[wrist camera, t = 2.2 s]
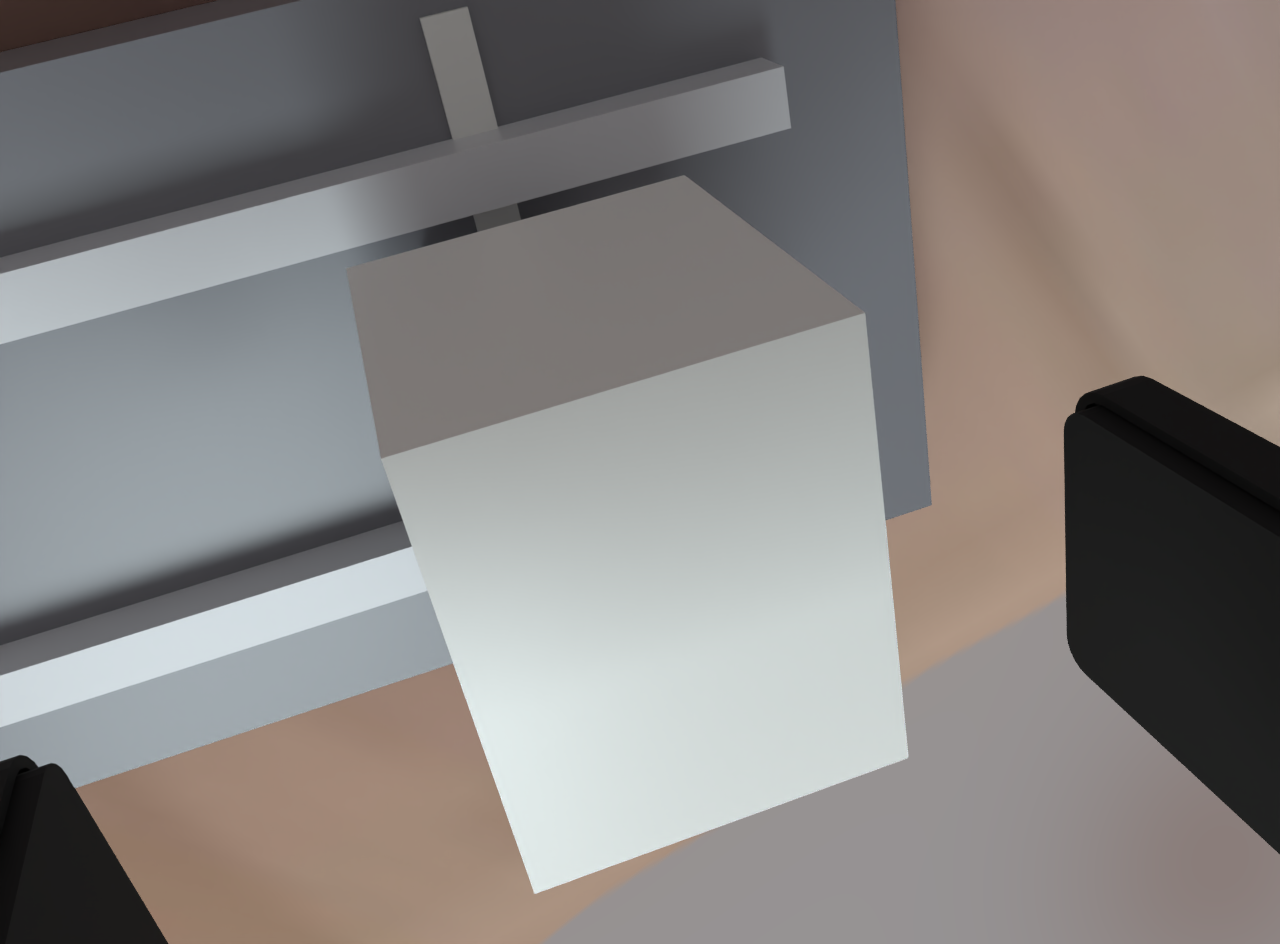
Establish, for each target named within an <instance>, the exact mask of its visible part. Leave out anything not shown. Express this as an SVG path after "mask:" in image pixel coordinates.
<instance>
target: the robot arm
mask: <svg viewBox="0 0 1280 944" xmlns="http://www.w3.org/2000/svg"><path fill="white" fill-rule="evenodd" d="M1064 473H1065V541H1066V602H1067V603H1066V608H1067V639H1068V644H1069V648H1070V651H1071V653H1072V655H1073V657H1074V659H1075V661H1076V663H1077V664H1078V666H1079V667H1080V669H1081V670H1082V671H1083V672H1084V673H1085V674H1086V675H1087V676H1088V677H1089V678H1090V679H1091V680H1092V681H1093V682H1095V683H1096V684H1097V685H1098V686H1099V687H1100V688H1101V689H1102V690H1103V691H1104V692H1105V693H1106V694H1107V695H1109V696H1110V697H1111V698H1112V699H1113V700H1114V701H1115V702H1116V703H1117V704H1118V705H1119V706H1120V707H1122V708H1123V709H1124V710H1125V711H1126V712H1127V713H1128V714H1129V715H1130V716H1131V717H1132V718H1133V719H1134V720H1136V721H1137V722H1138V723H1139V724H1140V725H1141V726H1142V727H1143V728H1144V729H1145V730H1146V731H1147V732H1149V733H1150V734H1151V735H1152V736H1153V737H1154V738H1155V739H1156V740H1157V741H1158V742H1159V743H1160V744H1161V745H1162V746H1164V747H1165V748H1166V749H1167V750H1168V751H1169V752H1170V753H1171V754H1172V755H1173V756H1174V757H1176V759H1178V760H1179V761H1180V762H1181V763H1182V764H1183V765H1184V766H1185V767H1186V768H1187V769H1188V770H1189V771H1191V772H1192V773H1193V774H1194V775H1195V776H1196V777H1197V778H1198V779H1199V780H1200V781H1201V782H1202V783H1204V784H1205V785H1206V786H1207V787H1208V788H1209V789H1210V790H1211V791H1212V792H1213V793H1214V794H1215V795H1216V796H1218V797H1219V798H1220V799H1221V800H1222V801H1223V802H1224V803H1225V804H1226V805H1227V806H1228V807H1229V808H1231V809H1232V810H1233V811H1234V812H1235V813H1236V814H1237V815H1238V816H1239V817H1240V818H1241V819H1242V820H1243V821H1244V822H1246V823H1247V824H1248V825H1249V826H1250V827H1251V828H1252V829H1253V830H1254V831H1255V832H1256V833H1258V834H1259V835H1260V836H1261V837H1262V838H1263V839H1264V840H1265V841H1266V842H1267V843H1268V844H1269V845H1270V846H1271V847H1273V848H1274V849H1275V850H1276V851H1277V852H1278V853H1279V854H1280V447H1279V446H1277V445H1275V444H1273V443H1271V442H1269V441H1268V440H1266V439H1264V438H1262V437H1260V436H1258V435H1256V434H1254V433H1253V432H1251V431H1249V430H1247V429H1245V428H1243V427H1241V426H1239V425H1238V424H1236V423H1234V422H1232V421H1230V420H1228V419H1226V418H1224V417H1223V416H1221V415H1219V414H1217V413H1215V412H1213V411H1211V410H1209V409H1208V408H1206V407H1204V406H1202V405H1200V404H1198V403H1196V402H1194V401H1193V400H1191V399H1189V398H1187V397H1185V396H1183V395H1181V394H1179V393H1178V392H1176V391H1174V390H1172V389H1170V388H1168V387H1166V386H1164V385H1163V384H1161V383H1159V382H1157V381H1155V380H1153V379H1151V378H1148V377H1145V376H1137V377H1132V378H1130V379H1127V380H1124V381H1121V382H1118V383H1115V384H1112V385H1109V386H1106V387H1103V388H1100V389H1097V390H1094V391H1091V392H1088V393H1086V394H1084V395H1083V396H1082V397H1081V398H1080V399H1079V401H1078V403H1077V405H1076V410H1075V413H1073V414H1071V415H1070V416H1069V417H1068V418H1067V420H1066V422H1065V426H1064ZM0 944H168V942H167V941H166V939H165V937H164V936H163V934H162V932H161V931H160V929H159V927H158V926H157V924H156V922H155V921H154V919H153V917H152V916H151V914H150V912H149V911H148V909H147V907H146V906H145V904H144V902H143V901H142V899H141V897H140V896H139V894H138V892H137V891H136V889H135V888H134V886H133V884H132V883H131V881H130V879H129V878H128V876H127V874H126V873H125V871H124V869H123V868H122V866H121V864H120V863H119V861H118V859H117V858H116V856H115V854H114V853H113V851H112V849H111V848H110V846H109V844H108V843H107V841H106V839H105V838H104V836H103V834H102V833H101V831H100V829H99V828H98V826H97V824H96V823H95V821H94V819H93V818H92V816H91V814H90V813H89V811H88V809H87V808H86V806H85V804H84V803H83V801H82V799H81V798H80V796H79V794H78V793H77V791H76V789H75V788H74V786H73V784H72V783H71V781H70V779H69V778H68V776H67V775H66V773H65V772H64V770H63V769H62V768H61V767H60V766H58V765H57V764H55V763H49V764H47V765H44V766H41V767H38V766H37V765H36V763H35V762H34V761H33V760H31V759H30V758H29V757H27V756H24V755H18V756H15V757H12V758H9V759H6V760H3V761H0Z"/></svg>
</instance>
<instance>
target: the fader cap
mask: <svg viewBox="0 0 1280 944" xmlns="http://www.w3.org/2000/svg"><path fill="white" fill-rule="evenodd" d="M346 271H347V276H348V282H349V287H350V293H351V298H352V304H353V309H354V314H355V320H356V325H357V331H358V336H359V342H360V347H361V353H362V358H363V364H364V369H365V375H366V380H367V385H368V391H369V396H370V402H371V407H372V413H373V418H374V424H375V429H376V435H377V440H378V445H379V451H380V456H381V460H382V463H383V466H384V469H385V472H386V474H387V477H388V480H389V483H390V486H391V489H392V491H393V494H394V497H395V500H396V503H397V506H398V508H399V511H400V514H401V517H402V520H403V523H404V525H405V528H406V531H407V534H408V537H409V540H410V542H411V545H412V548H413V551H414V554H415V557H416V559H417V562H418V565H419V568H420V571H421V574H422V576H423V579H424V582H425V585H426V588H427V590H428V593H429V596H430V599H431V602H432V605H433V607H434V610H435V613H436V616H437V619H438V622H439V624H440V627H441V630H442V633H443V636H444V639H445V641H446V644H447V647H448V650H449V653H450V656H451V658H452V661H453V664H454V667H455V670H456V673H457V675H458V678H459V681H460V684H461V687H462V690H463V692H464V695H465V698H466V701H467V704H468V706H469V709H470V712H471V715H472V718H473V721H474V723H475V726H476V729H477V732H478V735H479V738H480V740H481V743H482V746H483V749H484V752H485V755H486V757H487V760H488V763H489V766H490V769H491V772H492V774H493V777H494V780H495V783H496V786H497V789H498V791H499V794H500V797H501V800H502V803H503V805H504V808H505V811H506V814H507V817H508V820H509V822H510V825H511V828H512V831H513V834H514V837H515V839H516V842H517V845H518V848H519V851H520V854H521V856H522V859H523V862H524V865H525V868H526V871H527V873H528V876H529V879H530V882H531V885H532V888H533V890H534V893H535V894H536V893H539V892H541V891H544V890H547V889H550V888H552V887H555V886H558V885H561V884H563V883H566V882H569V881H572V880H574V879H577V878H580V877H583V876H585V875H588V874H591V873H594V872H596V871H599V870H602V869H605V868H607V867H610V866H613V865H615V864H618V863H621V862H624V861H626V860H629V859H632V858H635V857H637V856H640V855H643V854H646V853H648V852H651V851H654V850H657V849H659V848H662V847H665V846H668V845H670V844H673V843H676V842H679V841H681V840H684V839H687V838H690V837H692V836H695V835H698V834H701V833H703V832H706V831H709V830H712V829H714V828H717V827H720V826H723V825H725V824H728V823H731V822H734V821H736V820H739V819H742V818H745V817H747V816H750V815H753V814H756V813H758V812H761V811H764V810H766V809H769V808H772V807H775V806H777V805H780V804H783V803H786V802H788V801H791V800H794V799H797V798H800V797H802V796H805V795H808V794H811V793H813V792H816V791H818V790H822V789H824V788H827V787H830V786H832V785H835V784H838V783H841V782H843V781H846V780H849V779H851V778H854V777H857V776H860V775H863V774H865V773H868V772H871V771H874V770H876V769H879V768H882V767H885V766H887V765H890V764H893V763H896V762H898V761H901V760H904V759H906V758H908V749H907V738H906V727H905V717H904V707H903V696H902V686H901V676H900V666H899V655H898V645H897V635H896V624H895V614H894V604H893V594H892V583H891V573H890V563H889V552H888V542H887V532H886V522H885V511H884V501H883V491H882V480H881V470H880V460H879V450H878V439H877V429H876V419H875V408H874V398H873V388H872V378H871V367H870V357H869V347H868V336H867V326H866V316H865V312H864V311H862V310H861V309H860V308H858V307H857V306H856V305H854V304H853V303H852V302H850V301H849V300H848V299H846V298H845V297H844V296H843V295H841V294H840V293H839V292H837V291H836V290H835V289H833V288H832V287H831V286H829V285H828V284H827V283H825V282H824V281H823V280H822V279H820V278H819V277H818V276H816V275H815V274H814V273H812V272H811V271H810V270H808V269H807V268H806V267H805V266H803V265H802V264H801V263H799V262H798V261H797V260H795V259H794V258H793V257H791V256H790V255H789V254H787V253H786V252H785V251H784V250H782V249H781V248H780V247H778V246H777V245H776V244H774V243H773V242H772V241H770V240H769V239H768V238H766V237H765V236H764V235H763V234H761V233H760V232H759V231H757V230H756V229H755V228H753V227H752V226H751V225H749V224H748V223H747V222H745V221H744V220H743V219H742V218H740V217H739V216H738V215H736V214H735V213H734V212H732V211H731V210H730V209H728V208H727V207H726V206H724V205H723V204H722V203H721V202H719V201H718V200H717V199H715V198H714V197H713V196H711V195H710V194H709V193H707V192H706V191H705V190H703V189H702V188H701V187H700V186H698V185H697V184H696V183H694V182H693V181H692V180H690V179H689V178H688V177H686V176H685V175H683V176H679V177H675V178H672V179H668V180H664V181H661V182H657V183H654V184H650V185H646V186H643V187H639V188H635V189H632V190H628V191H625V192H621V193H617V194H614V195H610V196H606V197H603V198H599V199H596V200H592V201H588V202H585V203H581V204H577V205H574V206H570V207H567V208H563V209H559V210H556V211H552V212H548V213H545V214H541V215H538V216H534V217H530V218H527V219H523V220H519V221H516V222H512V223H509V224H505V225H501V226H498V227H494V228H490V229H487V230H483V231H480V232H476V233H472V234H469V235H465V236H461V237H458V238H454V239H451V240H447V241H443V242H440V243H436V244H432V245H429V246H425V247H422V248H418V249H414V250H411V251H407V252H403V253H400V254H396V255H393V256H389V257H385V258H382V259H378V260H374V261H371V262H367V263H364V264H360V265H356V266H353V267H349V268H346Z"/></svg>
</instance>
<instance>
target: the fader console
mask: <svg viewBox="0 0 1280 944" xmlns="http://www.w3.org/2000/svg"><path fill="white" fill-rule="evenodd" d="M683 175H685V176H686V177H688V178H689V179H690V180H692V181H693V182H694V183H696V184H697V185H698V186H700V187H701V188H702V189H703V190H705V191H706V192H707V193H709V194H710V195H711V196H713V197H714V198H715V199H717V200H718V201H719V202H721V203H722V204H723V205H724V206H726V207H727V208H728V209H730V210H731V211H732V212H734V213H735V214H736V215H738V216H739V217H740V218H742V219H743V220H744V221H745V222H747V223H748V224H749V225H751V226H752V227H753V228H755V229H756V230H757V231H759V232H760V233H761V234H763V235H764V236H765V237H766V238H768V239H769V240H770V241H772V242H773V243H774V244H776V245H777V246H778V247H780V248H781V249H782V250H784V251H785V252H786V253H787V254H789V255H790V256H791V257H793V258H794V259H795V260H797V261H798V262H799V263H801V264H802V265H803V266H805V267H806V268H807V269H808V270H810V271H811V272H812V273H814V274H815V275H816V276H818V277H819V278H820V279H822V280H823V281H824V282H825V283H827V284H828V285H829V286H831V287H832V288H833V289H835V290H836V291H837V292H839V293H840V294H841V295H843V296H844V297H845V298H846V299H848V300H849V301H850V302H852V303H853V304H854V305H856V306H857V307H858V308H860V309H861V310H862V311H864V312H865V316H866V326H867V336H868V347H869V357H870V367H871V378H872V388H873V398H874V408H875V419H876V429H877V439H878V450H879V460H880V470H881V480H882V491H883V501H884V511H885V520H888V519H891V518H894V517H897V516H900V515H903V514H906V513H909V512H912V511H915V510H918V509H921V508H924V507H927V506H930V505H932V503H931V489H930V476H929V462H928V448H927V434H926V420H925V406H924V392H923V378H922V365H921V351H920V337H919V323H918V309H917V295H916V281H915V268H914V254H913V240H912V226H911V212H910V198H909V184H908V170H907V157H906V143H905V129H904V115H903V101H902V87H901V73H900V59H899V46H898V32H897V18H896V4H895V0H218V1H213V2H209V3H205V4H201V5H197V6H192V7H188V8H184V9H180V10H175V11H171V12H167V13H163V14H159V15H154V16H150V17H146V18H142V19H138V20H133V21H129V22H125V23H121V24H117V25H112V26H108V27H104V28H100V29H96V30H91V31H87V32H83V33H79V34H75V35H70V36H66V37H62V38H58V39H54V40H49V41H45V42H41V43H37V44H33V45H28V46H24V47H20V48H16V49H12V50H7V51H3V52H0V761H3V760H6V759H9V758H12V757H15V756H18V755H24V756H27V757H29V758H30V759H31V760H33V761H34V762H35V763H36V765H37V766H38V767H41V766H44V765H47V764H49V763H55V764H57V765H58V766H60V767H61V768H62V769H63V770H64V772H65V773H66V775H67V776H68V778H69V779H70V781H71V783H72V784H73V786H74V788H77V787H80V786H83V785H86V784H89V783H92V782H95V781H98V780H101V779H104V778H107V777H110V776H113V775H116V774H119V773H122V772H125V771H128V770H131V769H134V768H137V767H140V766H143V765H146V764H150V763H153V762H156V761H159V760H162V759H165V758H168V757H171V756H174V755H177V754H180V753H183V752H186V751H189V750H192V749H195V748H198V747H201V746H204V745H207V744H210V743H213V742H216V741H219V740H222V739H225V738H228V737H231V736H234V735H237V734H240V733H243V732H246V731H249V730H252V729H255V728H258V727H261V726H264V725H268V724H271V723H274V722H277V721H280V720H283V719H286V718H289V717H292V716H295V715H298V714H301V713H304V712H307V711H310V710H313V709H316V708H319V707H322V706H325V705H328V704H331V703H334V702H337V701H340V700H343V699H346V698H349V697H352V696H355V695H358V694H361V693H364V692H367V691H370V690H373V689H376V688H379V687H383V686H386V685H389V684H392V683H395V682H398V681H401V680H404V679H407V678H410V677H413V676H416V675H419V674H422V673H425V672H428V671H431V670H434V669H437V668H440V667H443V666H446V665H449V664H452V663H453V661H452V658H451V656H450V653H449V650H448V647H447V644H446V641H445V639H444V636H443V633H442V630H441V627H440V624H439V622H438V619H437V616H436V613H435V610H434V607H433V605H432V602H431V599H430V596H429V593H428V590H427V588H426V585H425V582H424V579H423V576H422V574H421V571H420V568H419V565H418V562H417V559H416V557H415V554H414V551H413V548H412V545H411V542H410V540H409V537H408V534H407V531H406V528H405V525H404V523H403V520H402V517H401V514H400V511H399V508H398V506H397V503H396V500H395V497H394V494H393V491H392V489H391V486H390V483H389V480H388V477H387V474H386V472H385V469H384V466H383V463H382V460H381V456H380V451H379V445H378V440H377V435H376V429H375V424H374V418H373V413H372V407H371V402H370V396H369V391H368V385H367V380H366V375H365V369H364V364H363V358H362V353H361V347H360V342H359V336H358V331H357V325H356V320H355V314H354V309H353V304H352V298H351V293H350V287H349V282H348V276H347V271H346V268H349V267H353V266H356V265H360V264H364V263H367V262H371V261H374V260H378V259H382V258H385V257H389V256H393V255H396V254H400V253H403V252H407V251H411V250H414V249H418V248H422V247H425V246H429V245H432V244H436V243H440V242H443V241H447V240H451V239H454V238H458V237H461V236H465V235H469V234H472V233H476V232H480V231H483V230H487V229H490V228H494V227H498V226H501V225H505V224H509V223H512V222H516V221H519V220H523V219H527V218H530V217H534V216H538V215H541V214H545V213H548V212H552V211H556V210H559V209H563V208H567V207H570V206H574V205H577V204H581V203H585V202H588V201H592V200H596V199H599V198H603V197H606V196H610V195H614V194H617V193H621V192H625V191H628V190H632V189H635V188H639V187H643V186H646V185H650V184H654V183H657V182H661V181H664V180H668V179H672V178H675V177H679V176H683Z"/></svg>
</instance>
